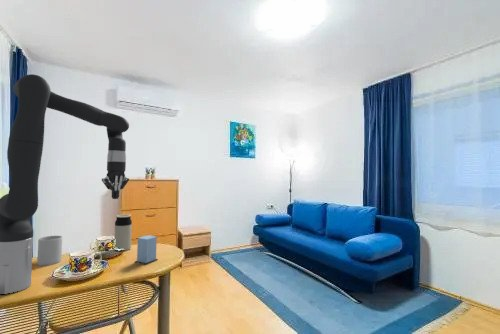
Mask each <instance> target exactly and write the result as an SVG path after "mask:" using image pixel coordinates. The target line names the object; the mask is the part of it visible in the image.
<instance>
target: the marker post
mask: <svg viewBox="0 0 500 334" xmlns="http://www.w3.org/2000/svg"><path fill="white" fill-rule="evenodd" d="M158 260H159V259H158V258H156V259H155V260H153V261H150V262H148V263H144V262H139V261H137V260H135V261H134V263H137V264H141V265H145V266H146V265H150V264H152V263H154V262H157V261H158Z"/></svg>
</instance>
